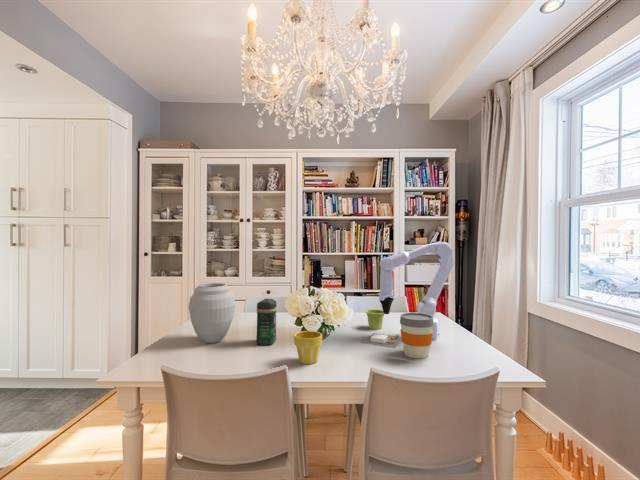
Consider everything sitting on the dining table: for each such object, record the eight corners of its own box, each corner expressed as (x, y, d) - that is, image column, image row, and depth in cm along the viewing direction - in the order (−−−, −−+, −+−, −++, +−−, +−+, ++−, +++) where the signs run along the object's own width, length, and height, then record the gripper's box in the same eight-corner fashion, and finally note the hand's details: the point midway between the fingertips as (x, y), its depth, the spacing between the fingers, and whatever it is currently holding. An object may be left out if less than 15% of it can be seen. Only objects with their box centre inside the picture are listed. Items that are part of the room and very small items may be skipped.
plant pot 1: (290, 358, 128) (290, 332, 128) (315, 354, 133) (315, 329, 133) (299, 368, 119) (300, 339, 119) (326, 363, 123) (327, 336, 123)
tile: (388, 335, 150) (384, 339, 145) (388, 340, 150) (384, 343, 145) (375, 333, 153) (370, 337, 148) (375, 338, 153) (370, 341, 148)
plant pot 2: (386, 331, 165) (386, 313, 165) (366, 331, 165) (366, 313, 165) (383, 326, 174) (383, 309, 174) (364, 326, 175) (364, 309, 175)
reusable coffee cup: (428, 363, 124) (429, 321, 123) (395, 356, 130) (395, 317, 130) (436, 353, 134) (437, 315, 134) (405, 347, 141) (405, 311, 141)
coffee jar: (273, 346, 142) (273, 301, 142) (254, 345, 143) (254, 301, 143) (278, 339, 152) (278, 297, 152) (260, 338, 153) (260, 297, 153)
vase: (178, 343, 146) (178, 286, 145) (212, 332, 163) (212, 281, 163) (212, 350, 137) (212, 289, 136) (244, 338, 154) (244, 283, 154)
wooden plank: (394, 336, 155) (394, 333, 155) (400, 337, 154) (400, 334, 154) (386, 343, 146) (386, 340, 146) (393, 344, 144) (393, 341, 144)
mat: (405, 338, 154) (405, 337, 154) (394, 349, 139) (394, 348, 139) (374, 333, 161) (374, 332, 161) (359, 343, 146) (359, 342, 146)
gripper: (383, 281, 165) (383, 309, 165) (372, 285, 152) (372, 315, 152) (397, 282, 161) (397, 311, 161) (387, 286, 149) (387, 317, 149)
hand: (386, 313), depth 157 cm, fingers closed
